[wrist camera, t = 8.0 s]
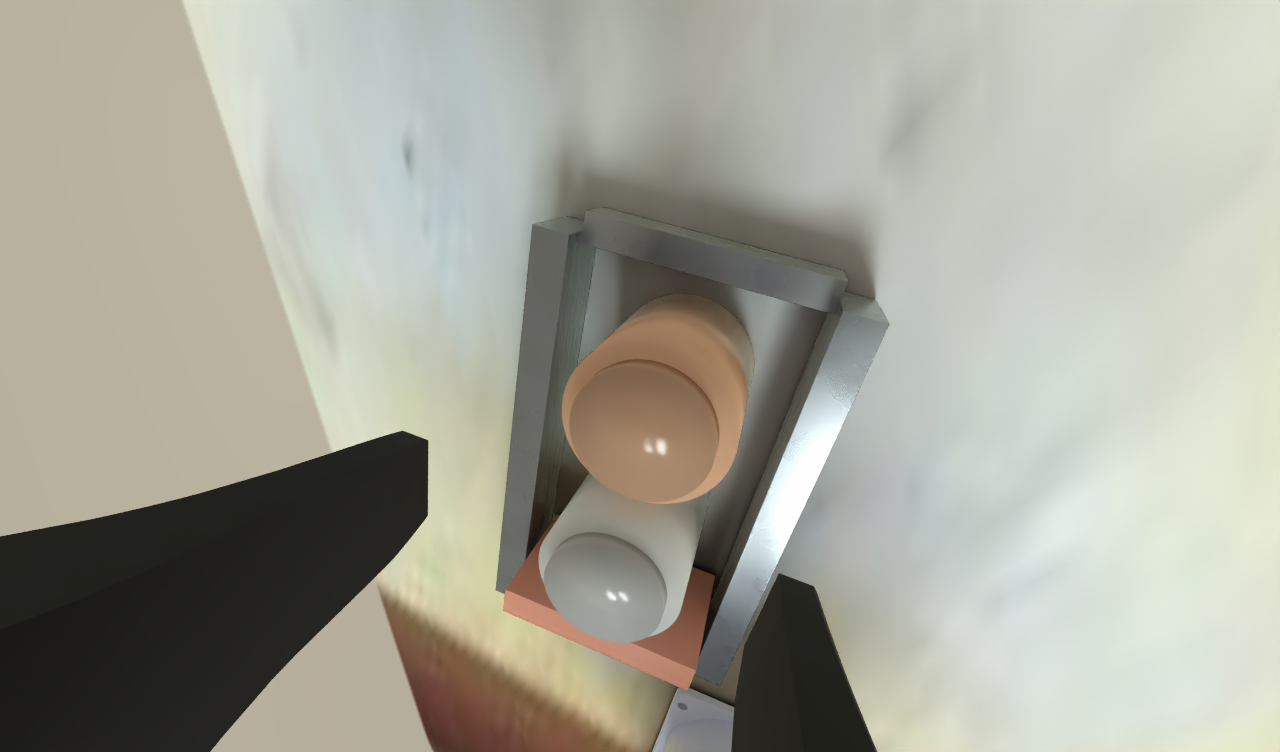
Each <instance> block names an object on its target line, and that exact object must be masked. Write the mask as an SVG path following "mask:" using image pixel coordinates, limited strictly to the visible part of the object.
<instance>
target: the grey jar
mask: <svg viewBox="0 0 1280 752" xmlns="http://www.w3.org/2000/svg"><path fill="white" fill-rule="evenodd" d="M708 500H709V498H708V492H707V493H705V494H703V495H701V496H699V497H697V498H694V499H691V500H688V501H684V502H679V503H670V504H656V503H648V502H643V501H639V500H634V499H630V498H628V497H625V496H622V495H620V494H618V493H616V492H614V491H612V490H610V489H609V488H607V487H606V486H604V485H603V484H602V483H600V482H599V481H598V480H597V479H596V478H594V477H593V476H592V475H591V474H590V472H589V474H588V475H587V477H586V478H585V480H584V481H583V483H582V484H581V486H580V487H579V489H578V490H577V492H576V493H575V494H574V496H573V497H572V499H571V500H570V502H569V503H568V505H567V506H566V508H565V509H564V511H563V512H562V514H561V515H560V517H559V518H558V520H557V521H556V523H555V524H554V526H553V527H552V529H551V530H550V532H549V533H548V535H547V536H546V538H545V539H544V541H543V543H542V545H541V547H540V551H539V560H538V562H539V570H540V574H541V577H542V580H543V582H544V585H545V589H546V592H547V595H548V597H549V599H550V601H551V603H552V604H553V606H554V607H555V609H556V610H557V611H558V612H559V613H560V614H561V615H562V616H563V617H564V618H565V619H566V620H567V621H568V622H569V623H570V624H572V625H573V626H575V627H576V628H577V629H579V630H581V631H582V632H584V633H586V634H588V635H590V636H593V637H595V638H598V639H601V640H605V641H609V642H616V643H629V642H636V641H639V640H642V639H644V638H646V637H650V636H653V635H656V634H659V633H661V632H663V631H664V630H666V629H667V628H669V627H670V626H671V625H672V624H673V623H674V622H675V620H676V619H677V617H678V615H679V613H680V611H681V607H682V603H683V600H684V596H685V592H686V588H687V584H688V581H689V577H690V573H691V569H692V565H693V561H694V558H695V554H696V550H697V546H698V542H699V539H700V535H701V531H702V527H703V523H704V519H705V516H706V512H707V508H708Z"/></svg>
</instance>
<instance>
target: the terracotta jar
mask: <svg viewBox="0 0 1280 752" xmlns="http://www.w3.org/2000/svg"><path fill="white" fill-rule="evenodd" d="M753 372H754V354H753V349H752V345H751V342H750V339H749V337H748V335H747V333H746V331H745V329H744V328H743V326H742V325H741V324H740V322H739V321H738V320H737V319H736V318H735V317H734V316H733V315H732V314H731V313H730V312H729V311H728V310H727V309H725V308H724V307H723V306H721V305H719V304H718V303H716V302H714V301H712V300H709V299H707V298H704V297H701V296H697V295H691V294H672V295H666V296H662V297H659V298H656V299H654V300H652V301H650V302H648V303H646V304H645V305H643V306H642V307H641V308H639V309H638V310H637V311H636V312H635V313H634V314H633V315H632V316H630V317H629V318H628V319H627V320H626V321H625V322H624V323H623V324H622V325H621V326H620V327H619V328H617V329H616V330H615V331H614V332H613V333H612V334H611V335H610V336H609V337H608V338H607V339H606V340H605V341H603V342H602V343H601V344H600V345H599V346H598V347H597V348H596V349H595V350H594V351H593V352H592V353H590V354H589V355H588V356H587V357H586V358H585V359H584V360H583V361H582V362H581V363H580V364H579V365H578V366H577V367H576V369H575V370H574V372H573V373H572V375H571V376H570V378H569V380H568V382H567V385H566V387H565V391H564V394H563V400H562V420H563V426H564V430H565V433H566V437H567V439H568V441H569V444H570V446H571V448H572V450H573V451H574V453H575V455H576V456H577V458H578V459H579V461H580V462H581V463H582V465H583V466H584V467H585V468H586V469H587V470H588V471H589V472H590V474H591V475H592V476H593V477H594V478H596V479H597V480H598V481H599V482H600V483H602V484H603V485H604V486H606V487H607V488H609V489H610V490H612V491H614V492H616V493H618V494H620V495H622V496H625V497H628V498H630V499H634V500H639V501H643V502H648V503H656V504H670V503H679V502H684V501H688V500H691V499H694V498H697V497H699V496H701V495H703V494H705V493H707V492H708V491H709V490H711V489H712V488H714V487H715V486H716V485H717V484H718V483H719V482H720V481H721V480H722V479H723V478H724V477H725V475H726V474H727V473H728V471H729V470H730V468H731V466H732V464H733V462H734V459H735V456H736V453H737V449H738V445H739V440H740V435H741V430H742V426H743V421H744V416H745V411H746V407H747V402H748V397H749V392H750V388H751V383H752V378H753Z"/></svg>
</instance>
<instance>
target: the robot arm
mask: <svg viewBox="0 0 1280 752" xmlns="http://www.w3.org/2000/svg"><path fill="white" fill-rule="evenodd" d="M427 516H428V440H426V439H423V438H421V437H418V436H415V435H413V434H410V433H407V432H405V431H400V432H396V433H393V434H389V435H386V436H382V437H379V438H376V439H373V440H370V441H367V442H364V443H360V444H357V445H354V446H351V447H348V448H345V449H342V450H339V451H336V452H333V453H330V454H327V455H324V456H321V457H318V458H315V459H312V460H309V461H305V462H302V463H299V464H296V465H293V466H290V467H287V468H284V469H281V470H278V471H275V472H272V473H268V474H264V475H261V476H258V477H254V478H251V479H247V480H244V481H241V482H237V483H234V484H230V485H227V486H224V487H220V488H217V489H213V490H210V491H206V492H203V493H200V494H196V495H192V496H188V497H185V498H181V499H177V500H173V501H169V502H165V503H161V504H157V505H153V506H149V507H144V508H140V509H135V510H131V511H127V512H123V513H118V514H114V515H109V516H105V517H100V518H95V519H91V520H86V521H80V522H75V523H70V524H64V525H59V526H54V527H48V528H44V529H38V530H32V531H28V532H22V533H17V534H11V535H6V536H1V537H0V752H210V751H211V750H212V749H213V747H214V746H215V745H216V744H217V743H218V741H219V740H220V739H221V738H222V737H223V735H224V734H225V733H226V732H227V731H228V730H229V728H230V727H231V726H232V725H233V724H234V723H235V722H236V720H237V719H238V718H239V717H240V716H241V715H242V713H243V712H244V711H245V710H246V709H247V708H248V707H249V705H250V704H251V703H252V702H253V701H254V700H255V698H256V697H257V696H258V695H259V694H260V693H261V692H262V690H263V689H264V688H265V687H266V686H267V685H268V684H269V682H270V681H271V680H272V679H273V678H274V677H275V676H276V675H277V674H278V673H279V672H280V671H281V670H282V669H283V667H284V666H285V665H286V664H287V663H288V662H289V661H290V660H291V659H292V658H293V657H294V656H295V655H296V654H297V653H298V652H299V651H300V650H301V649H302V648H303V647H304V646H305V645H306V644H307V643H308V642H309V641H310V640H311V639H312V638H313V637H314V636H315V635H316V634H317V633H318V632H319V631H321V629H323V628H324V627H325V626H326V625H327V624H328V623H329V622H330V621H331V620H332V619H333V618H334V617H335V616H336V615H337V614H338V613H339V612H340V611H341V610H342V609H343V608H344V607H345V606H346V605H347V604H348V603H349V602H350V601H351V600H352V599H353V598H354V597H355V596H356V595H357V594H358V593H359V592H361V590H363V588H365V587H366V586H367V585H368V583H370V582H371V581H372V580H373V579H374V578H375V577H376V576H377V575H378V574H379V573H380V572H381V571H382V570H383V569H384V568H385V567H386V566H387V565H388V564H389V563H390V562H391V561H392V560H393V559H394V557H395V556H396V555H397V554H398V553H399V551H400V550H401V549H402V548H403V547H404V545H405V544H406V543H407V542H408V541H409V539H410V538H411V537H412V535H413V534H414V533H415V532H416V530H417V529H418V528H419V526H420V525H421V524H422V523H423V521H424V520H425V519H426V517H427ZM652 752H877V750H876V748H875V745H874V743H873V741H872V738H871V736H870V734H869V731H868V729H867V726H866V724H865V721H864V719H863V716H862V714H861V711H860V709H859V707H858V704H857V702H856V699H855V697H854V694H853V692H852V689H851V687H850V684H849V682H848V679H847V676H846V674H845V671H844V668H843V666H842V663H841V660H840V658H839V655H838V652H837V649H836V647H835V644H834V641H833V638H832V636H831V633H830V630H829V627H828V624H827V621H826V618H825V615H824V612H823V609H822V606H821V603H820V600H819V597H818V594H817V592H816V590H815V588H814V586H811V585H809V584H806V583H803V582H801V581H798V580H795V579H793V578H790V577H787V576H785V575H782V574H780V573H779V574H778V577H777V579H776V581H775V583H774V585H773V587H772V589H771V591H770V593H769V595H768V598H767V600H766V602H765V604H764V606H763V608H762V610H761V612H760V614H759V616H758V619H757V621H756V623H755V625H754V627H753V629H752V631H751V633H750V635H749V637H748V640H747V642H746V644H745V646H744V652H743V657H742V663H741V669H740V674H739V680H738V686H737V692H736V699H735V705H734V707H732V706H730V705H727V704H725V703H723V702H720V701H718V700H716V699H714V698H711V697H709V696H707V695H704V694H702V693H700V692H697V691H695V690H693V689H690V688H689V689H688V691H687V690H684V689H682V688H678V689H677V691H676V693H675V696H674V698H673V701H672V703H671V705H670V708H669V710H668V713H667V715H666V718H665V720H664V723H663V725H662V728H661V730H660V733H659V735H658V738H657V740H656V743H655V745H654V748H653V750H652Z"/></svg>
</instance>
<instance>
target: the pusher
mask: <svg viewBox="0 0 1280 752" xmlns="http://www.w3.org/2000/svg"><path fill="white" fill-rule="evenodd" d="M559 517H560V515H556V516H555V518H554V519H553V521H552V522H551V524H550V525H549V527H548V528H547V530H546V531H545V532H544V534H543V535H542V537H541V538H540V540H539V541H538V543H537V544H536V546H535V547H534V549H533V550H532V551H531V553H530V554H529V556H528V557H527V559H526V560H525V562H524V563H523V565H522V566H521V568H520V569H519V570H518V572H517V573H516V575H515V576H514V578H513V579H512V581H511V582H510V584H509V585H508V587H507V588H506V589H505V598H504V607H503V611H505V612H507V613H509V614H512V615H514V616H516V617H519V618H521V619H523V620H526V621H528V622H530V623H532V624H535V625H537V626H539V627H542V628H544V629H546V630H549V631H551V632H553V633H556V634H558V635H560V636H562V637H565V638H567V639H569V640H572V641H574V642H576V643H579V644H581V645H583V646H585V647H588V648H590V649H592V650H595V651H597V652H599V653H602V654H604V655H606V656H608V657H611V658H613V659H615V660H618V661H620V662H622V663H625V664H627V665H629V666H631V667H634V668H636V669H638V670H641V671H643V672H645V673H648V674H650V675H652V676H655V677H657V678H659V679H661V680H664V681H666V682H668V683H671V684H673V685H675V686H678V687H680V688H682V689H684V690H687V691H688V689H689V686H690V684H691V682H692V679H693V677H694V674H695V672H696V669H697V664H698V659H699V654H700V649H701V644H702V639H703V634H704V629H705V624H706V619H707V614H708V609H709V604H710V599H711V594H712V589H713V584H714V579H715V575H712V574H710V573H707V572H704V571H702V570H699V569H697V568H694V567H692V569H691V573H690V577H689V581H688V584H687V588H686V592H685V596H684V600H683V603H682V607H681V611H680V613H679V615H678V617H677V619H676V620H675V622H674V623H673V624H672V625H671V626H670V627H669V628H667V629H666V630H664V631H663V632H661V633H659V634H656V635H653V636H650V637H646V638H644V639H642V640H639V641H636V642H629V643H616V642H609V641H605V640H601V639H598V638H595V637H593V636H590V635H588V634H586V633H584V632H582V631H581V630H579V629H577V628H576V627H575V626H573V625H572V624H570V623H569V622H568V621H567V620H566V619H565V618H564V617H563V616H562V615H561V614H560V613H559V612H558V611H557V610H556V609H555V607H554V606H553V604H552V603H551V601H550V599H549V597H548V595H547V592H546V589H545V585H544V582H543V580H542V577H541V574H540V570H539V562H538V560H539V551H540V547H541V545H542V543H543V541H544V539H545V538H546V536H547V535H548V533H549V532H550V530H551V529H552V527H553V526H554V524H555V523H556V521H557V520H558V518H559Z"/></svg>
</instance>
